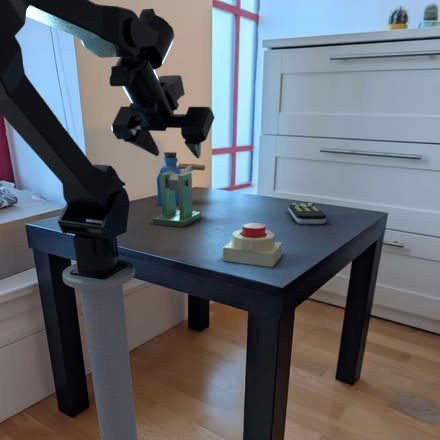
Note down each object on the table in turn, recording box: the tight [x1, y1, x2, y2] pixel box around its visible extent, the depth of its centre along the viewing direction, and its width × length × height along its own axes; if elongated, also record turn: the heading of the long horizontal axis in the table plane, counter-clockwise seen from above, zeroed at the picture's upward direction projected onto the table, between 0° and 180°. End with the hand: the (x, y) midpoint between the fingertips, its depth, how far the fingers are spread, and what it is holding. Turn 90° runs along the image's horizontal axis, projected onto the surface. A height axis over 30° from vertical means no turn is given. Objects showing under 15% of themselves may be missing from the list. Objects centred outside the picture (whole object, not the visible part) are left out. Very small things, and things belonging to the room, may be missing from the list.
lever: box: [168, 162, 206, 191], centre depth 88 cm, size 10×6×2 cm, turn 159°
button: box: [241, 222, 267, 238], centre depth 65 cm, size 4×4×2 cm
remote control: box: [288, 202, 327, 225], centre depth 92 cm, size 6×13×2 cm, turn 1°
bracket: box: [152, 171, 202, 228], centre depth 87 cm, size 9×7×10 cm
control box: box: [222, 229, 283, 268], centre depth 66 cm, size 6×8×4 cm
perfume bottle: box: [156, 151, 183, 206], centre depth 104 cm, size 6×6×12 cm
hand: (178, 155), depth 82 cm, fingers open, 9 cm apart
